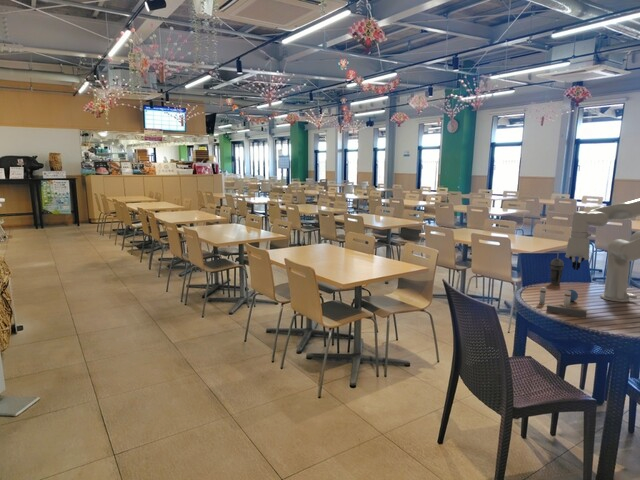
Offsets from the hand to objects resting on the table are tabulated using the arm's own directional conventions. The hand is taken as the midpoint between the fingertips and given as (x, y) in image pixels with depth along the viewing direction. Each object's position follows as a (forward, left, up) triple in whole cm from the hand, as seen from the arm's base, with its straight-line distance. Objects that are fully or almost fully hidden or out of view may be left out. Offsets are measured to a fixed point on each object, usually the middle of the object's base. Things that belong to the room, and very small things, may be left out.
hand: (575, 269), depth 228 cm
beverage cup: (+12, -24, -15) cm, 31 cm away
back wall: (-1, +36, -15) cm, 39 cm away
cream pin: (0, +25, -15) cm, 29 cm away
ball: (0, +10, -12) cm, 15 cm away
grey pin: (+11, +25, -15) cm, 31 cm away
